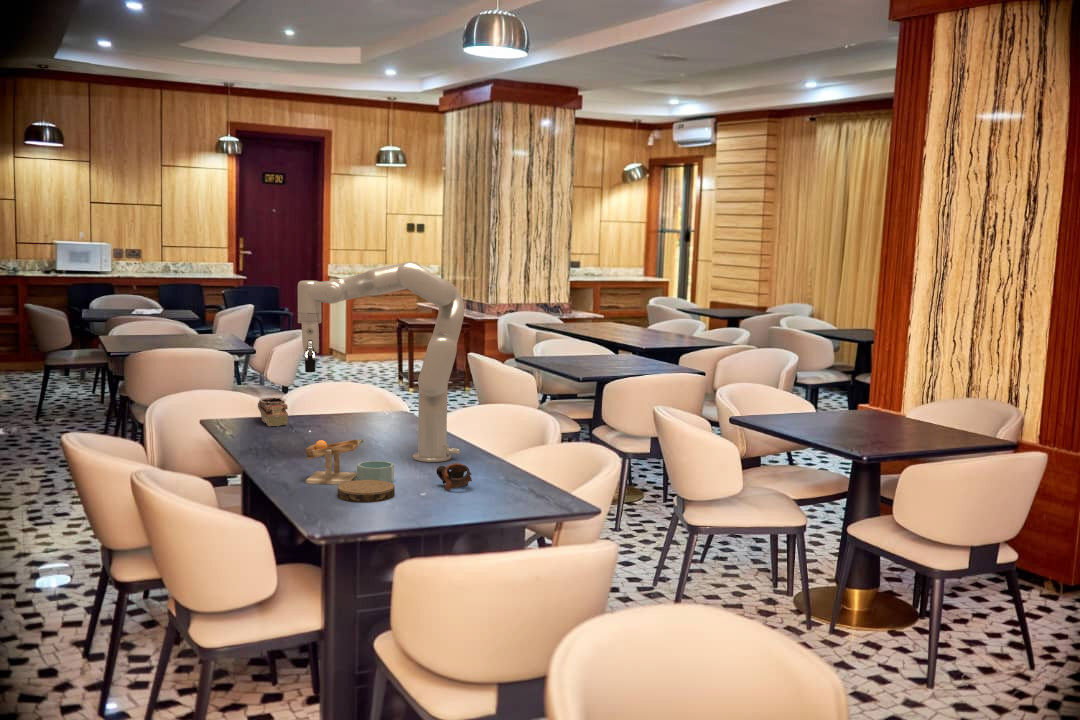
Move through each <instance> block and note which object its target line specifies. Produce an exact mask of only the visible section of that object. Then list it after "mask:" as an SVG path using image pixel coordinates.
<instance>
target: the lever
mask: <svg viewBox="0 0 1080 720" xmlns="http://www.w3.org/2000/svg"><path fill="white" fill-rule="evenodd" d="M362 443H364V439H363V438H362V439H351V440H346V441H340V442H333V443H329V444H328V443H327V448H324V449H318V450H316V448H315V444H316V443H314V444H310V445H309V446H307V448H305V454H306V459H307V460H310V459H314V458H319V457H325V450H332V455H334V454H337V453H340V454H342V453H348V452H353V451H355V450H356V449H357V448H359V447H360V446H361V444H362Z"/></svg>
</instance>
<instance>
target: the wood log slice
mask: <svg viewBox="0 0 1080 720" xmlns="http://www.w3.org/2000/svg"><path fill="white" fill-rule="evenodd" d="M395 487H396V486H395V484H394V483H393V482H392V483H390V482H386V481H381V480H357V479H355V480H354V481H349V482H344V483H342V484H337V497H338V499H339V500H342V501H346V502H351V503H363V504H365V503H378V502H383V501H388V500H391V499H393V498H394V497H395V495H396V494H395V493H396V491H395Z"/></svg>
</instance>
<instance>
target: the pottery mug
mask: <svg viewBox="0 0 1080 720" xmlns="http://www.w3.org/2000/svg"><path fill="white" fill-rule="evenodd" d="M465 472H466V474H465ZM436 475H437V477H438V478H439V479H440V480H441V481H442V484H443V485H444V489H445V490H446V491H447V492H449V491H451V489H456V488H460V487H464V486H468V485H469V483H470V482H473V481H472V477H471V476H472V473H471V471H470V468H469V467H468V466H467V465H465V464H462V463H456V462H455V463H451V464H449V465H447V466H445V465H439V466H438V467H437V468H436Z"/></svg>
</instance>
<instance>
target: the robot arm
mask: <svg viewBox="0 0 1080 720" xmlns="http://www.w3.org/2000/svg"><path fill="white" fill-rule="evenodd" d="M402 290H403V291H404V290H409V291H410V292H412V293H414V295H417V296H418V297H420V298H422V299H424V300H426V301H427V302H428V303H431V304H433V305H435V306H437V308H438V313H437V317H436V322H435V324H434V325H435V326H434V328H433V332H432V335H431V338H430V340H429V341H428V345H427V348H426V352H425V354H424V359H423V361H422V366H421V368H420V373H419V375H418V379H417V385H418V413H417V414H418V415H417V416H418V421H417V422H418V423H417V425H418V426H417V432H418V433H417V434H418V435H417V452H415V453H413V456H412V458H413V460H415V461H419V462H427V463H438V462H439V463H440V462H447V461H449V460H451V459H452V455H458V456H459V455H460V448H457V447H450V446H449V443H447V440H448V439H447V434H448V431H447V429H448V426H447V425H448V386H449V380H450V377H451V373H452V370H453V367H454V364H455V360H456V356H457V351H458V350H457V349H458V348H457V346H458V341H459V337H460V333H461V331H462V325H463V323H464V318H465V317H464V316H465V303H464V300H463V297H462V294H461V293H460V291H459V290H458V288H457V287H456V286H455V285H454V284H453V283H452V282H451V281H450V280H448V279H445V278H442V277H440V276H438V275H436V274H434V273H432V272H431V271H430V270H427V269H426V268H424V267H423V266H421V265H420V264H419V263H418V262H417V261H405V262H402V263H397V264H396V263H395V264H391V265H388V266H384V267H380V268H379V267H378V268H374V269H370V270H367V271H365V272H363V273H358V274H354V275H350V276H346V277H341V278H337V279H331V280H325V281H318V280H309V279H308V280H300V281H298V283H297V324H301V341H302V342H301V343H302V350H303V353H304V354H305V356H304V372H305V373H316V357H315V353H316V354H319V353H320V339H319V337H320V333H319V332H320V331H319V324H321V323H322V319H323V318H322V303H326V304H337V303H340V302H343V301H347V300H353V299H357V298H362V297H367V296H368V297H370V296H373V297H374V296H381V295H384V294H389V293H393V292H398V291H399V292H400V291H402Z"/></svg>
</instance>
